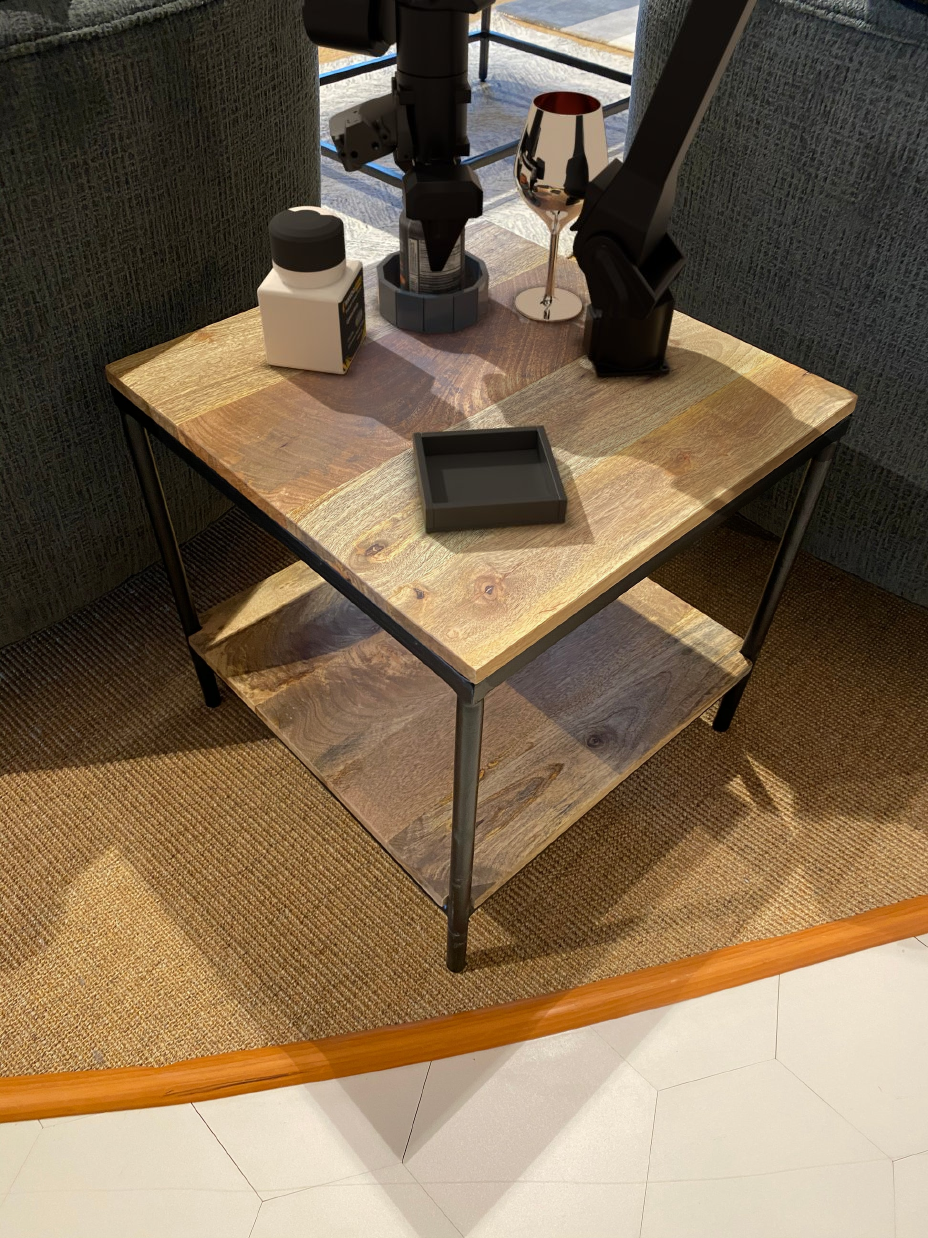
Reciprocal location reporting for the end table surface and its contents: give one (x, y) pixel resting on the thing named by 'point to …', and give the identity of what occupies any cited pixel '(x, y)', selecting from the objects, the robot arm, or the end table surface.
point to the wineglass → (558, 182)
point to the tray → (488, 479)
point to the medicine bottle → (311, 293)
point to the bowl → (432, 299)
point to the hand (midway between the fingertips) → (432, 254)
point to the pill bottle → (417, 265)
